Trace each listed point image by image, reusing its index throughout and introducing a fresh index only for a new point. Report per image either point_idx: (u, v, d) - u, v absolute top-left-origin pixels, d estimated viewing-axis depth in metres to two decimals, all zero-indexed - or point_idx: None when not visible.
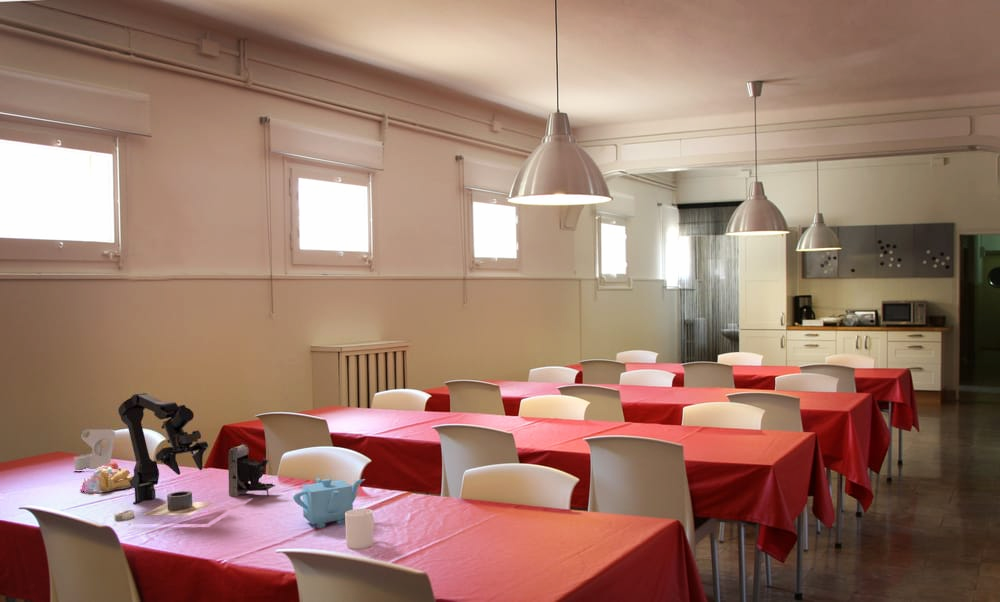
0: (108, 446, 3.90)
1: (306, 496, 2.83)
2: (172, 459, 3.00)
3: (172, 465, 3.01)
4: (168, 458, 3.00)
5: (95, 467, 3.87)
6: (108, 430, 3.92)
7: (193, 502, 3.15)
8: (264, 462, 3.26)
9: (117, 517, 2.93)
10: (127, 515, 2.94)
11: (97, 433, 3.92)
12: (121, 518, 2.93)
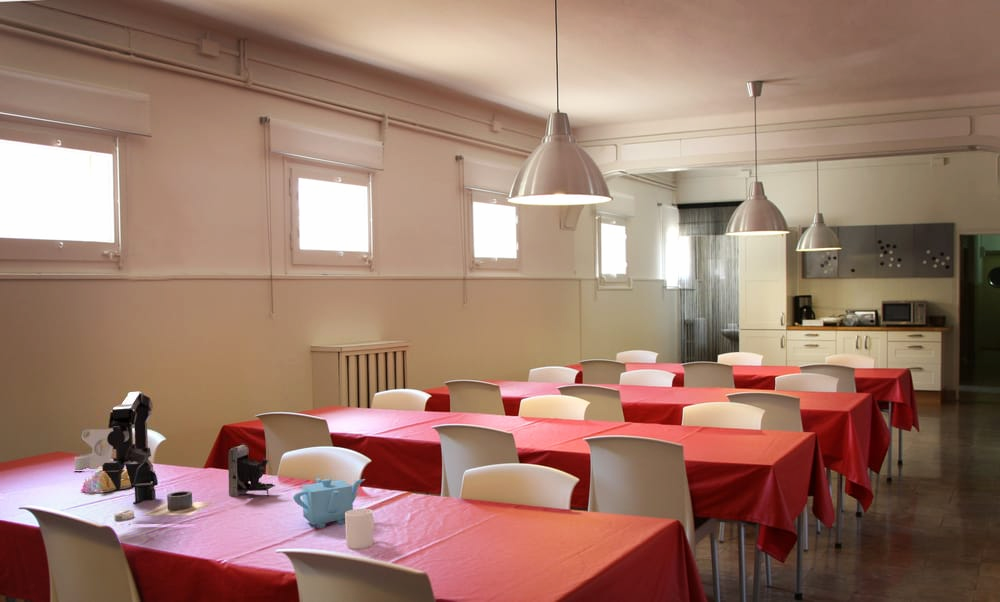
0: (108, 446, 3.90)
1: (306, 496, 2.83)
2: (119, 474, 2.90)
3: (115, 479, 2.91)
4: None
5: (95, 467, 3.87)
6: (108, 430, 3.92)
7: (193, 502, 3.15)
8: (264, 462, 3.26)
9: (117, 517, 2.93)
10: (127, 515, 2.94)
11: (97, 433, 3.92)
12: (121, 518, 2.93)
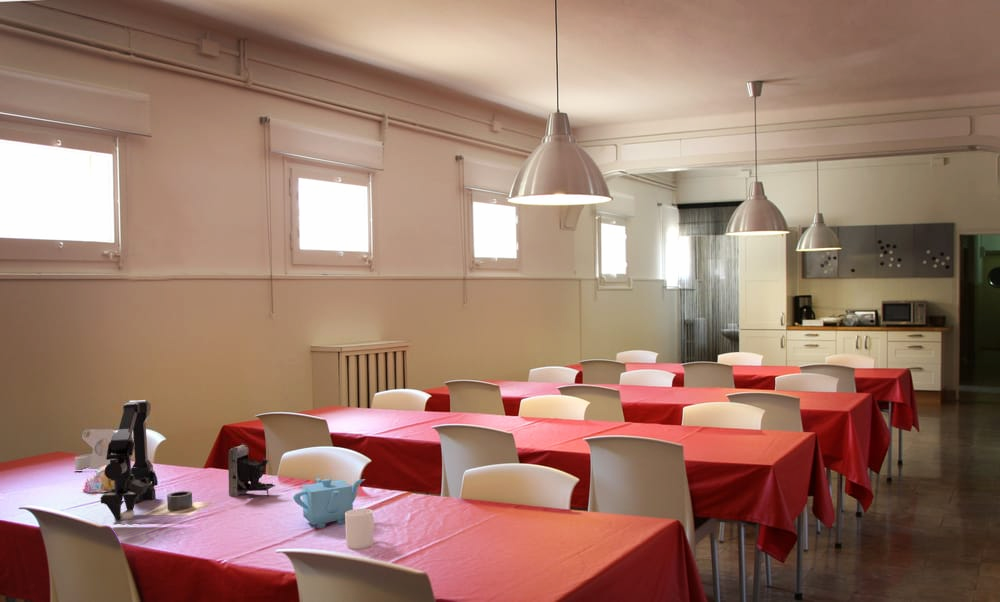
0: None
1: (306, 496, 2.83)
2: (119, 506, 2.91)
3: (115, 510, 2.91)
4: None
5: (95, 467, 3.87)
6: (108, 430, 3.92)
7: (193, 502, 3.15)
8: (264, 462, 3.26)
9: None
10: (127, 515, 2.94)
11: (98, 433, 3.92)
12: (121, 518, 2.93)
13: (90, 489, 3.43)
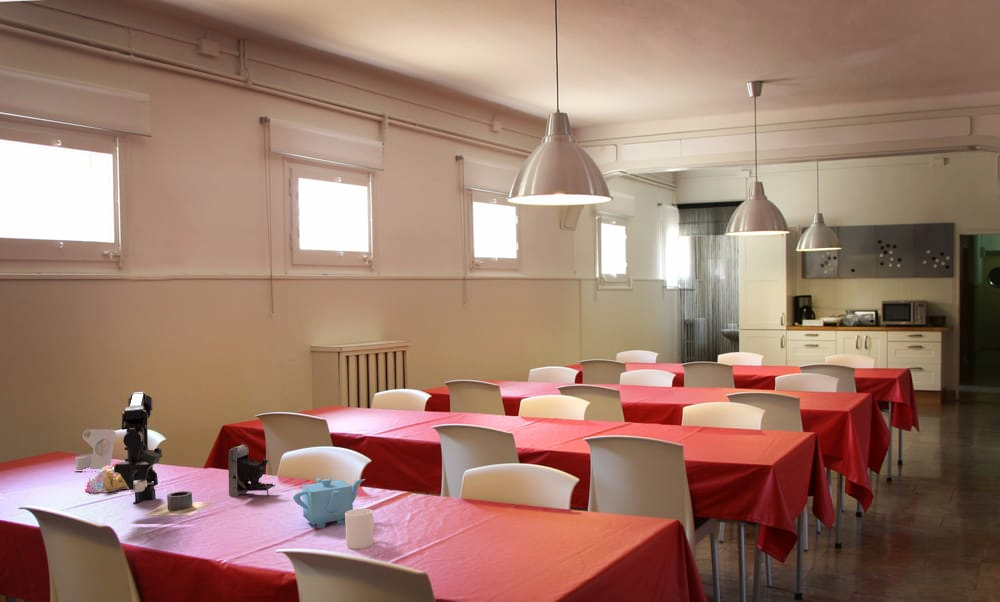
0: (109, 446, 3.90)
1: (306, 496, 2.83)
2: (132, 475, 2.93)
3: (128, 479, 2.94)
4: None
5: (96, 467, 3.87)
6: (108, 430, 3.92)
7: (193, 502, 3.15)
8: (264, 462, 3.26)
9: None
10: (140, 484, 2.97)
11: (98, 433, 3.92)
12: (134, 487, 2.96)
13: (92, 489, 3.43)
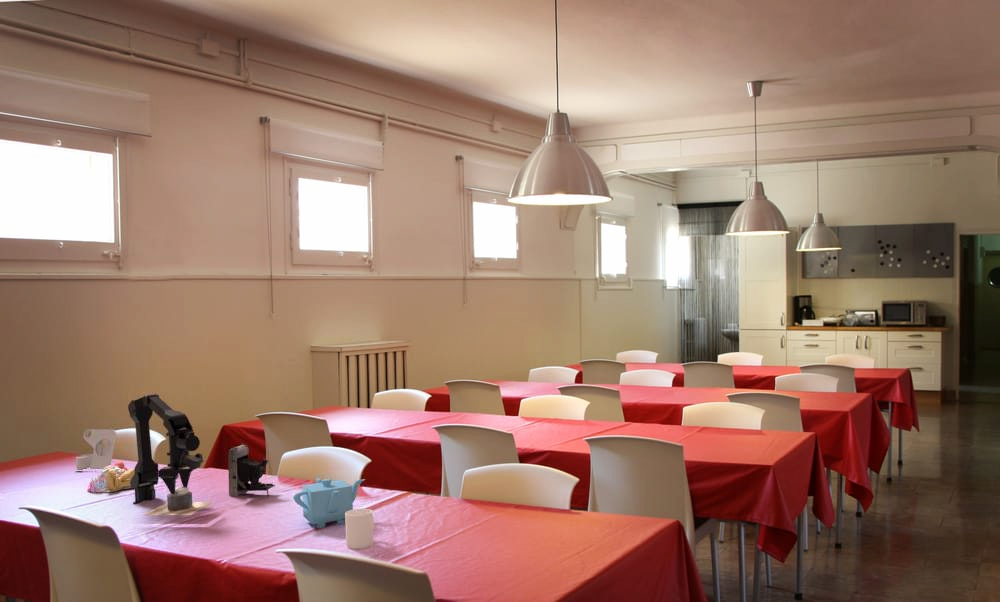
0: (109, 446, 3.90)
1: (306, 496, 2.83)
2: (174, 480, 3.01)
3: (170, 484, 3.02)
4: None
5: (96, 467, 3.87)
6: (109, 430, 3.92)
7: (193, 502, 3.15)
8: (264, 462, 3.26)
9: None
10: (183, 491, 3.06)
11: (99, 433, 3.92)
12: (177, 494, 3.04)
13: (95, 489, 3.43)
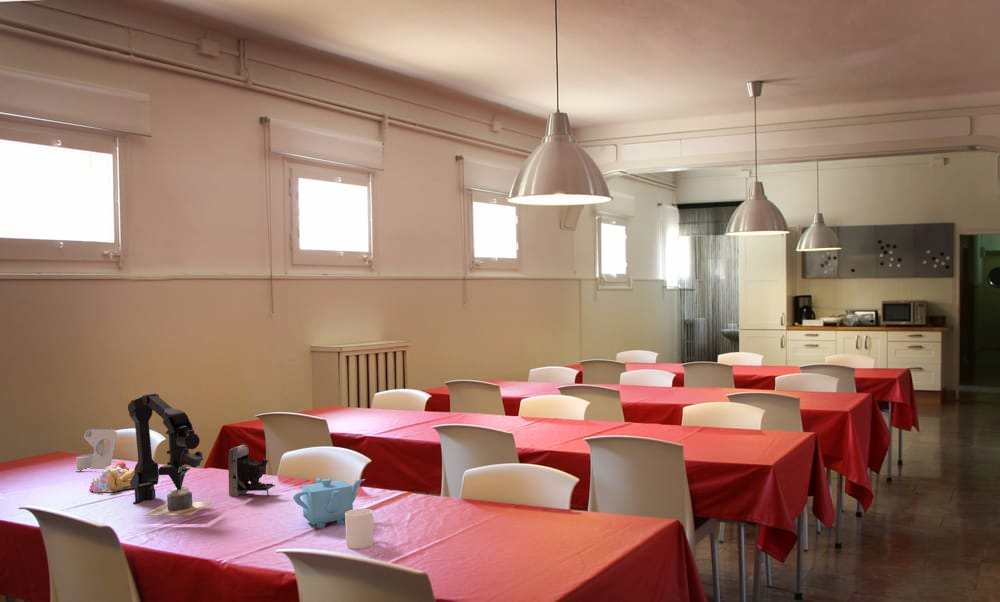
0: (109, 446, 3.90)
1: (306, 496, 2.83)
2: (180, 475, 3.06)
3: (176, 479, 3.06)
4: (176, 473, 3.05)
5: (96, 467, 3.87)
6: (109, 430, 3.92)
7: (193, 502, 3.15)
8: (264, 462, 3.26)
9: (173, 493, 3.04)
10: (183, 491, 3.06)
11: (99, 433, 3.92)
12: (177, 494, 3.04)
13: (96, 489, 3.43)
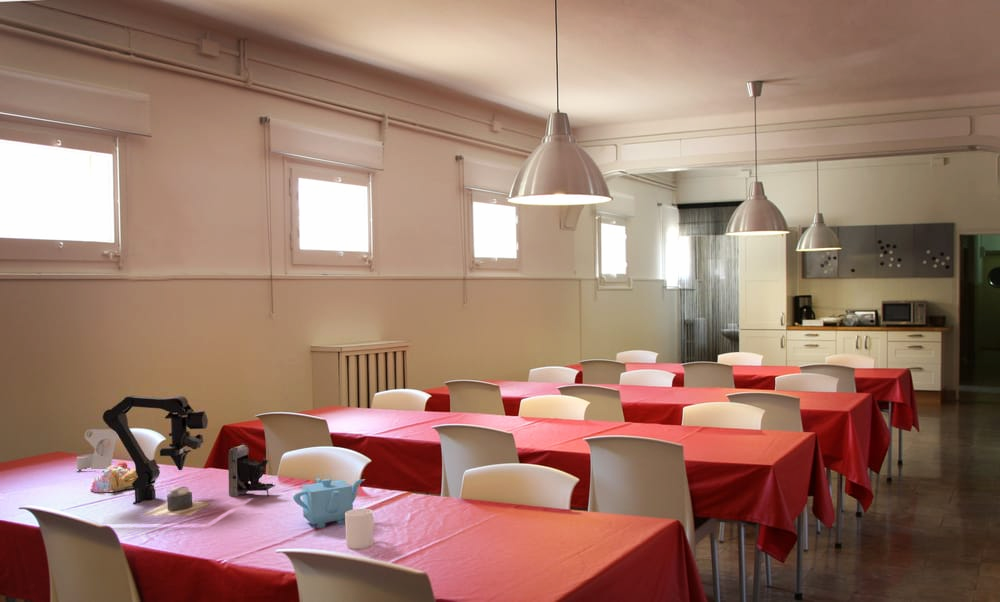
0: (110, 446, 3.90)
1: (306, 496, 2.83)
2: (181, 457, 3.21)
3: (177, 460, 3.21)
4: (178, 454, 3.20)
5: (96, 467, 3.87)
6: (110, 430, 3.91)
7: (193, 502, 3.15)
8: (264, 462, 3.26)
9: (173, 493, 3.04)
10: (183, 491, 3.06)
11: (99, 433, 3.92)
12: (177, 494, 3.04)
13: (98, 489, 3.43)
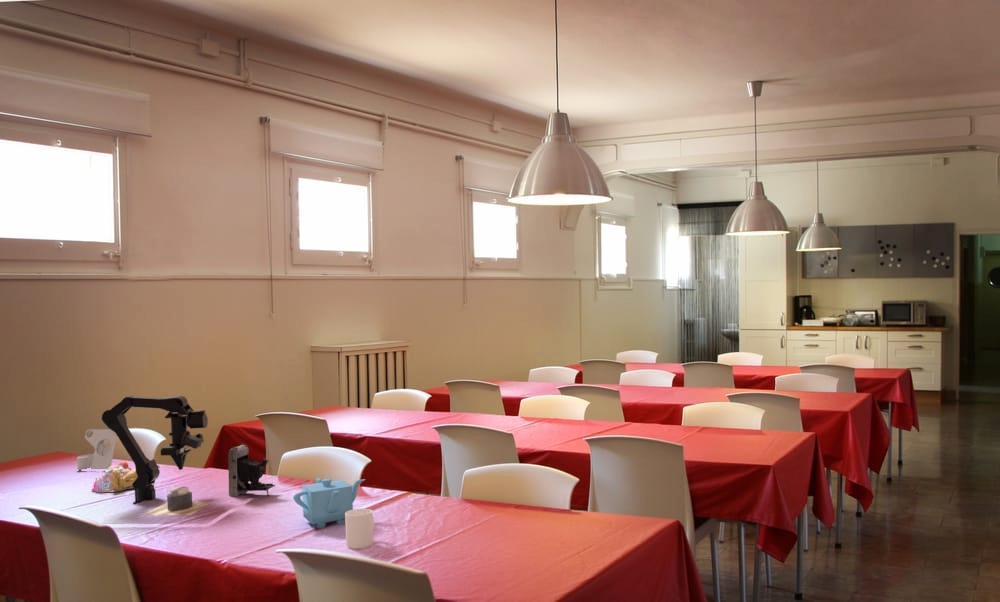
0: (110, 446, 3.90)
1: (306, 496, 2.83)
2: (181, 456, 3.21)
3: (178, 460, 3.22)
4: (178, 454, 3.21)
5: (97, 467, 3.87)
6: (110, 430, 3.91)
7: (193, 502, 3.15)
8: (264, 462, 3.26)
9: (173, 493, 3.04)
10: (183, 491, 3.06)
11: (100, 433, 3.92)
12: (177, 494, 3.04)
13: (99, 489, 3.43)
